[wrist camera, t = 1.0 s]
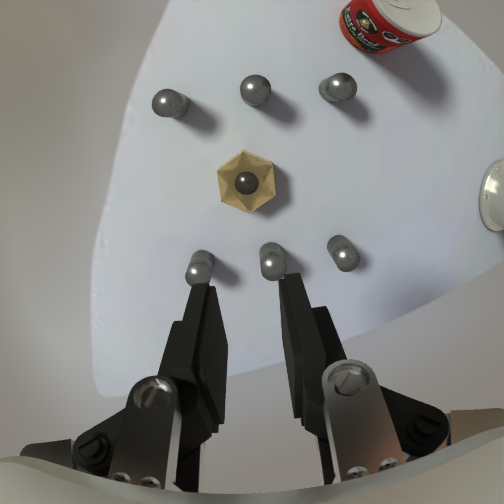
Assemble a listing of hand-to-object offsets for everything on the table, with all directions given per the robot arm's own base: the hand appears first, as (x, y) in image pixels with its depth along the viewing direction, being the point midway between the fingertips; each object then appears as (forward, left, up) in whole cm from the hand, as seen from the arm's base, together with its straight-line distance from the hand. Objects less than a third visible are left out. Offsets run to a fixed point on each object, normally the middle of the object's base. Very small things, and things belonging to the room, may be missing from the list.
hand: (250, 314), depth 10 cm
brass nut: (0, 0, -25) cm, 25 cm away
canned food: (-17, -19, -25) cm, 36 cm away
